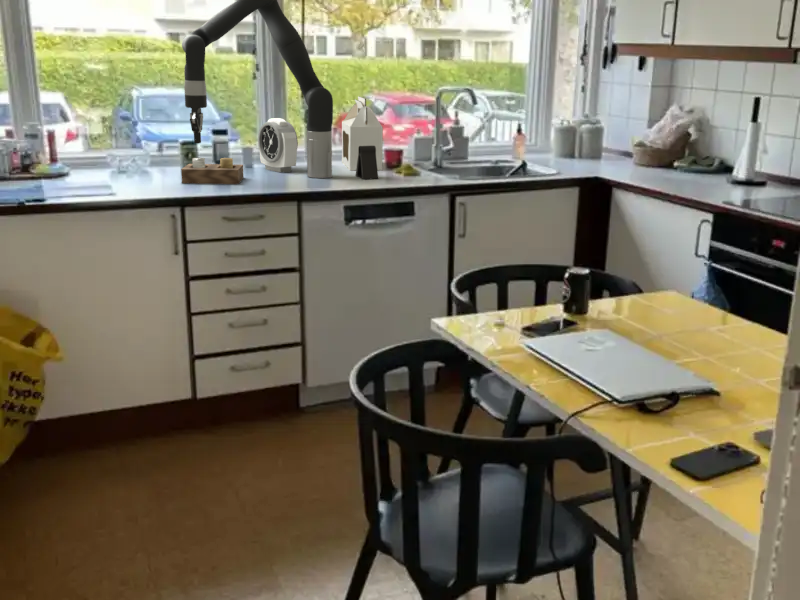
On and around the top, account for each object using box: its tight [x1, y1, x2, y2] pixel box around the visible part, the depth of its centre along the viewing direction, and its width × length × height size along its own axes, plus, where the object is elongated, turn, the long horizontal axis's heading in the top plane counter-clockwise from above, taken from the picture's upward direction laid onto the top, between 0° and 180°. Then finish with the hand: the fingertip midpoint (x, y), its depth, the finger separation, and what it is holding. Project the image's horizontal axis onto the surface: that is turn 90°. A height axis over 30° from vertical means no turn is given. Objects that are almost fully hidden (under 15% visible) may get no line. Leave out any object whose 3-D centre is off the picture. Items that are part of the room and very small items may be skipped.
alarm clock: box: [257, 117, 299, 173], centre depth 337 cm, size 18×8×20 cm, turn 42°
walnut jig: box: [180, 157, 245, 185], centre depth 311 cm, size 20×14×8 cm
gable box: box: [341, 96, 384, 172], centre depth 350 cm, size 22×13×28 cm, turn 12°
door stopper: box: [355, 146, 379, 181], centre depth 325 cm, size 9×6×12 cm, turn 22°
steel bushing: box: [191, 157, 206, 168], centre depth 311 cm, size 4×4×8 cm
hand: (197, 143), depth 308 cm, fingers closed
